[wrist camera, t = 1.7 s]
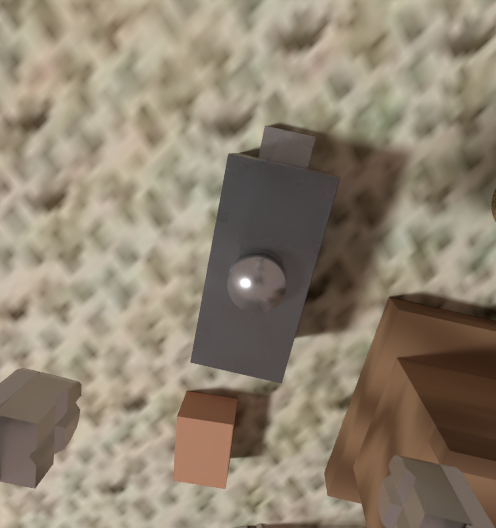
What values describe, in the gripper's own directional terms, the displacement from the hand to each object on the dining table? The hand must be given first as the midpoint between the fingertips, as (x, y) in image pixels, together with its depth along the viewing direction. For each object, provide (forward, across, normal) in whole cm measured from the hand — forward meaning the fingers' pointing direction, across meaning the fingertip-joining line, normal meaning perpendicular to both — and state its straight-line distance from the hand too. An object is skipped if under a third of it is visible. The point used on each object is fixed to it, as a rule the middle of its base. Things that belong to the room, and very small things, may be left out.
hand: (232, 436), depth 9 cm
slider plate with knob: (+15, 0, -1) cm, 16 cm away
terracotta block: (+16, +1, +14) cm, 21 cm away
